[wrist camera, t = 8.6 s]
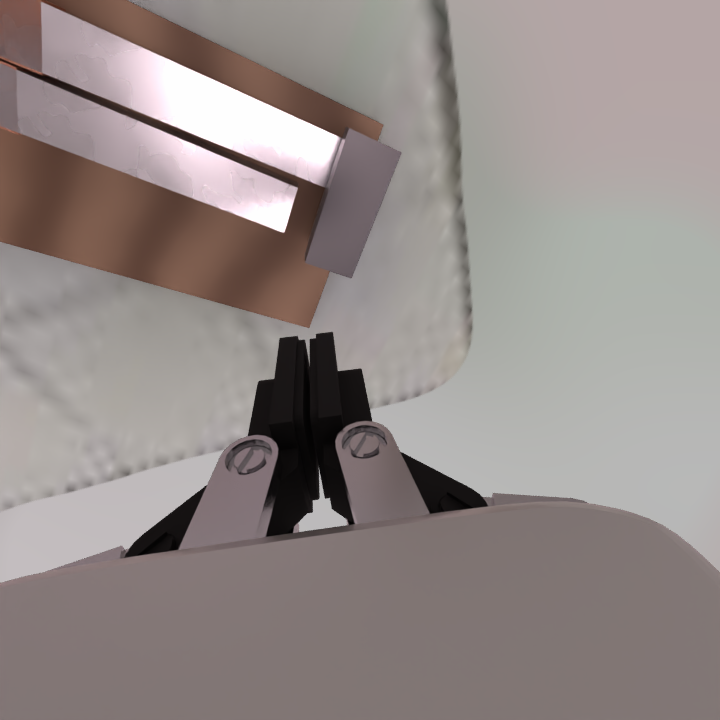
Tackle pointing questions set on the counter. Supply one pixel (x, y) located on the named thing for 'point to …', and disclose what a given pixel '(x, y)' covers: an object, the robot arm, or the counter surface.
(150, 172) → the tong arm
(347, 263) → the tab
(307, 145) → the tongs fixed
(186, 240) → the walnut board
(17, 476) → the counter surface
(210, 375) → the counter surface
